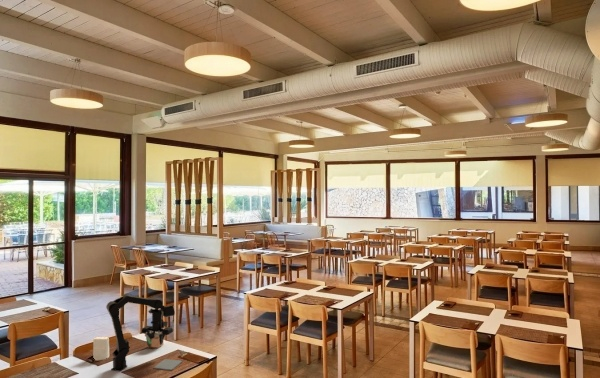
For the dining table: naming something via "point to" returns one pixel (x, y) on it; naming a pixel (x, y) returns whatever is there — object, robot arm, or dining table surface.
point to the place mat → (168, 364)
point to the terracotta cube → (156, 342)
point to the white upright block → (101, 348)
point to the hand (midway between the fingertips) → (157, 344)
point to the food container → (150, 340)
